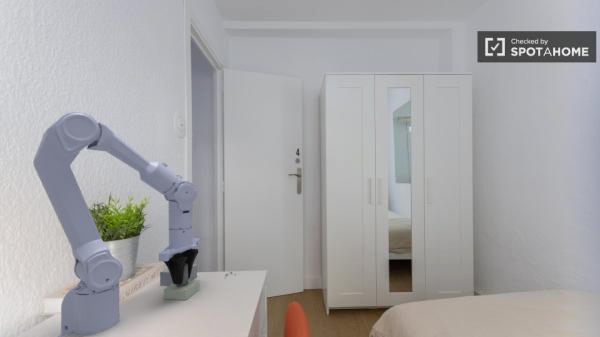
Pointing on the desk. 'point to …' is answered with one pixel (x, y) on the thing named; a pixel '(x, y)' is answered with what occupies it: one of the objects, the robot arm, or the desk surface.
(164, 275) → the grey square socket block
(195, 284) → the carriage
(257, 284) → the desk surface
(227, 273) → the game controller
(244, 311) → the desk surface
